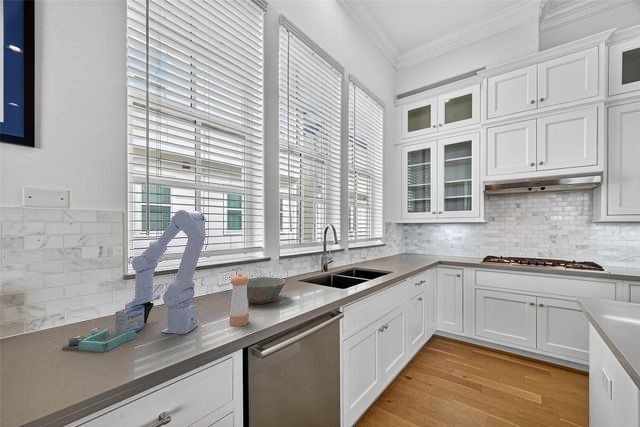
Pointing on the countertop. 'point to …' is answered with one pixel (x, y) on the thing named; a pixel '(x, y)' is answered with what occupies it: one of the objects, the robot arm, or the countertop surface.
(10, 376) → the countertop surface
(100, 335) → the chassis
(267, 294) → the ceramic bowl
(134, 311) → the medicine box
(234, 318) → the salt shaker
